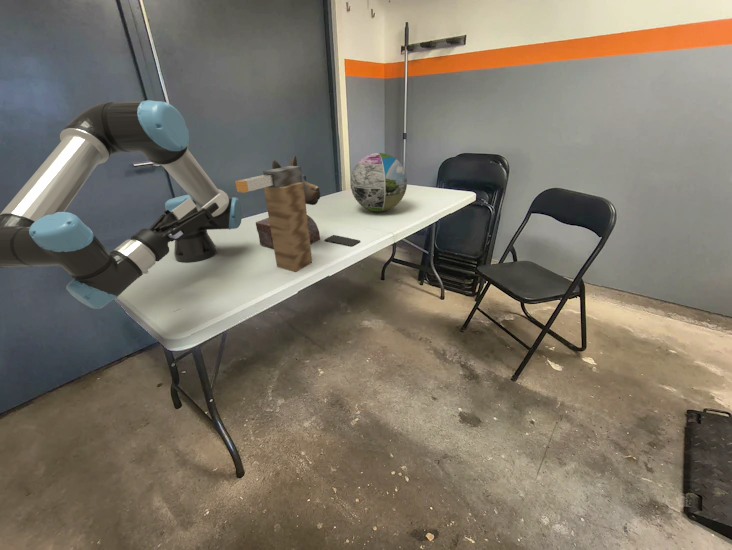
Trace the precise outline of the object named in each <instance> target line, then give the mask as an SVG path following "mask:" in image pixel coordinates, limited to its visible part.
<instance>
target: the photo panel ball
mask: <svg viewBox="0 0 732 550" xmlns="http://www.w3.org/2000/svg"><path fill="white" fill-rule="evenodd" d="M407 186H408V176H407V173H406V170H405V168H404V166H403V165H402V163H401V162H400V161H399V160H398V159H397V158H396V157H394V156H393V155H390V154H388V153H384V152H383V153H382V152H376V153H371V154H368V155H365V156H364V157H363V158H362V159H360V160H359V161H358V162H357V164H355V166H354V168H353V171H352V173H351V176H350V190H351V192H352V195H353V197H354V199H355V201H357V203H358V204H359V205H360V206H361V207H362V208H364V209H366V210H368V211H372V212H377V213H378V212H385V211H388V210H389V211H390V210H391V209H393V208H394V207H396V206H397V205H398V204H399V203H400V202H401V201H402V200H403V198H404V196H405V194H406V191H407Z"/></svg>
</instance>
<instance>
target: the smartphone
mask: <svg viewBox="0 0 732 550" xmlns="http://www.w3.org/2000/svg"><path fill="white" fill-rule="evenodd" d="M323 241H324V242H326V243H329V244H330V243H331V244H335V245H340V246H346V247H350V248H351V247H355V246H356V245H358V244H360V243H361V240H359V239H355V238H350V237H345V236H340V235H335V234H332V235H331V236H328V237H326V238H325V239H324V240H323Z"/></svg>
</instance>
